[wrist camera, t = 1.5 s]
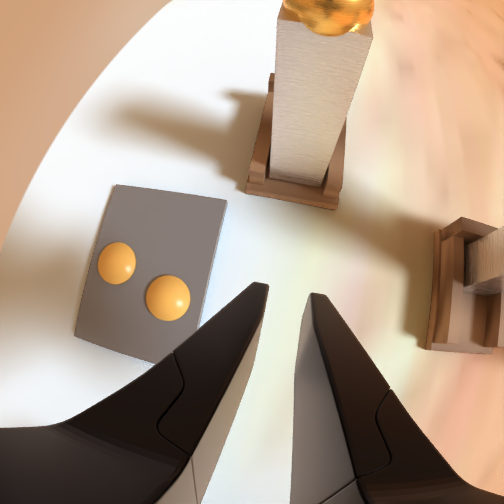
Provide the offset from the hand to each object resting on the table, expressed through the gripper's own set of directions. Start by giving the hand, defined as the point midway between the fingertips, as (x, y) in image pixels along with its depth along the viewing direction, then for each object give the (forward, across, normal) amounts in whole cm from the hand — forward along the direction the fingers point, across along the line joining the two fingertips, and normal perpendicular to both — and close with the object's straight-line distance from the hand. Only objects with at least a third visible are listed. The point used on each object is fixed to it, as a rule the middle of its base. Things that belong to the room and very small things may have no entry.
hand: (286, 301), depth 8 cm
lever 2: (+12, -15, +4) cm, 20 cm away
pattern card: (+10, +9, +8) cm, 16 cm away
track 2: (+12, -15, +6) cm, 20 cm away
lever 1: (+16, 0, 0) cm, 16 cm away
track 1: (+18, 0, 0) cm, 18 cm away
